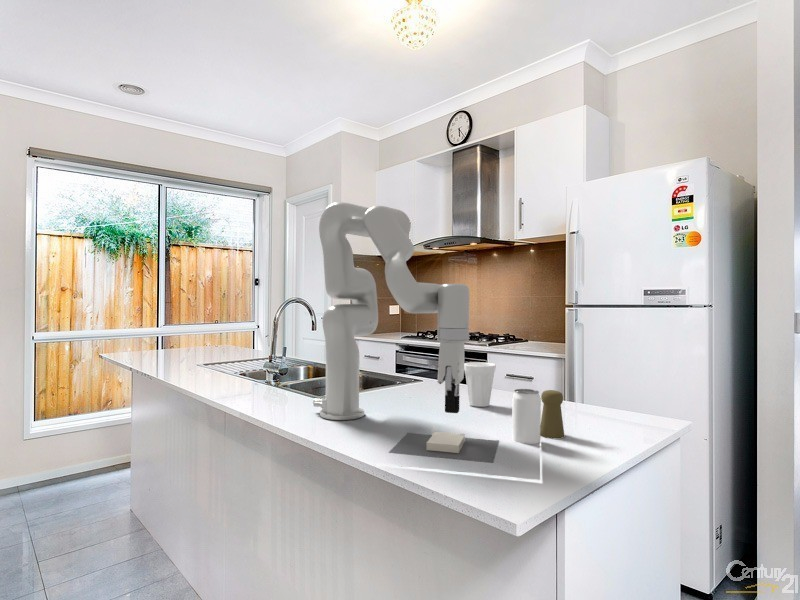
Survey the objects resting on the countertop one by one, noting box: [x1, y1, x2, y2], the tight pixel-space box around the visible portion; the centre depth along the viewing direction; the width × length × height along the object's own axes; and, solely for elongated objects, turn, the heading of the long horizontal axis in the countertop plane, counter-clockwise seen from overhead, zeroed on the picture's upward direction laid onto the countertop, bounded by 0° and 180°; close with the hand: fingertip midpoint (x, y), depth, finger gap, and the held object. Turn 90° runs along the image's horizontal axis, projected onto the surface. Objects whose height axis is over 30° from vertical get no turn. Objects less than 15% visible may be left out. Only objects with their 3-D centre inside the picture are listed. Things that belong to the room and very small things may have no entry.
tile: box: [427, 431, 466, 453], centre depth 109 cm, size 7×2×9 cm
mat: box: [388, 432, 500, 464], centre depth 109 cm, size 22×16×1 cm
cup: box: [464, 361, 496, 408], centre depth 154 cm, size 10×10×13 cm
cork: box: [540, 389, 565, 439], centre depth 121 cm, size 6×6×11 cm
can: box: [511, 388, 542, 445], centre depth 115 cm, size 6×6×12 cm
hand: (452, 412), depth 117 cm, fingers closed
